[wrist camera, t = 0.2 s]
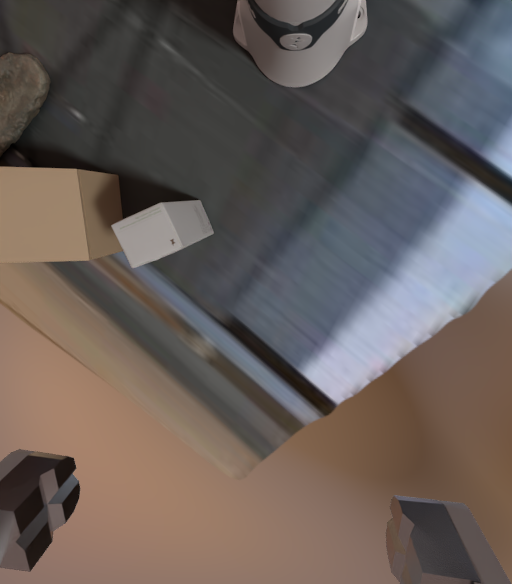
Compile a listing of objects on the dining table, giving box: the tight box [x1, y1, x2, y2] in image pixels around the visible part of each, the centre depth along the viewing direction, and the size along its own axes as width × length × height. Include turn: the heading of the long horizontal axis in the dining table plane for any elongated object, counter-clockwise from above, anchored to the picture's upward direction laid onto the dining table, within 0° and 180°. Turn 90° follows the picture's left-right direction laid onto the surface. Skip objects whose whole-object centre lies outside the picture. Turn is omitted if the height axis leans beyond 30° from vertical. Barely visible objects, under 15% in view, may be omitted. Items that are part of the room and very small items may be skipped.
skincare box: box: [111, 200, 214, 268], centre depth 47 cm, size 8×7×16 cm
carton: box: [78, 169, 123, 260], centre depth 52 cm, size 13×20×10 cm, turn 89°
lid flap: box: [0, 167, 91, 263], centre depth 44 cm, size 13×20×1 cm, turn 89°
